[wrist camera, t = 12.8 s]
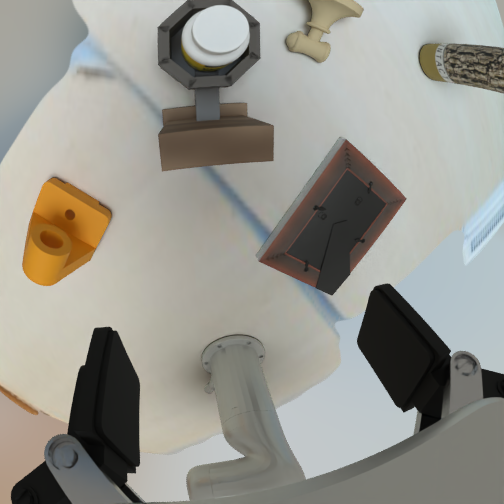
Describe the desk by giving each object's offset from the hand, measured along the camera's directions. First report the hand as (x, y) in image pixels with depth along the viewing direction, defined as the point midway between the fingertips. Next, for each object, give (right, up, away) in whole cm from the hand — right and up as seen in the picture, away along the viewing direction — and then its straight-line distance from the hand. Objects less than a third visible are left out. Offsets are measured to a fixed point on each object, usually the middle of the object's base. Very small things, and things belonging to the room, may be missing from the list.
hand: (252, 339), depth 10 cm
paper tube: (+30, +35, +23) cm, 51 cm away
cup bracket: (-6, +23, +20) cm, 31 cm away
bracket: (-25, +8, +24) cm, 36 cm away
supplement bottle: (-4, +23, +14) cm, 27 cm away
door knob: (+8, +33, +19) cm, 38 cm away
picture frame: (+13, +8, +35) cm, 38 cm away
